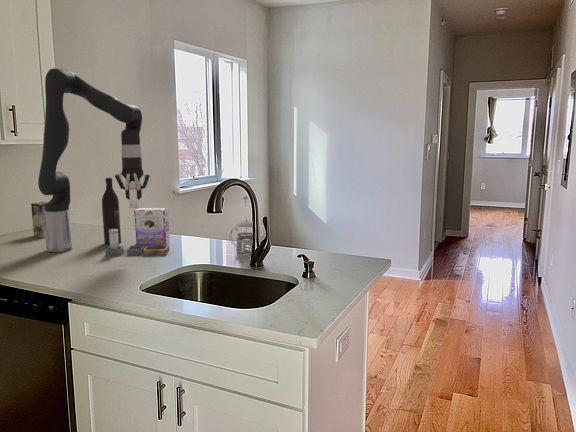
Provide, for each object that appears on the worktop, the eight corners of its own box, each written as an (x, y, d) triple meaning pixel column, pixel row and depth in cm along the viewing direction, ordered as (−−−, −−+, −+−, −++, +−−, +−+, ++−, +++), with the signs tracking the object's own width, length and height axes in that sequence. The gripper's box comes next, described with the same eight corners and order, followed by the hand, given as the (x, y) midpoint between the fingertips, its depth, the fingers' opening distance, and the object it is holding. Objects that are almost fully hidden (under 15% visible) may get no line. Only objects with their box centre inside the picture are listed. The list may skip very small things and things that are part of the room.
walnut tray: (143, 257, 199) (142, 250, 199) (147, 252, 208) (146, 245, 208) (166, 257, 200) (166, 249, 199) (169, 251, 209) (169, 244, 208)
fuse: (109, 255, 200) (107, 230, 199) (111, 252, 204) (109, 229, 202) (118, 254, 201) (116, 230, 199) (120, 252, 204) (119, 228, 202)
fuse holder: (104, 258, 198) (104, 250, 197) (110, 253, 206) (109, 245, 206) (141, 257, 199) (141, 249, 199) (145, 252, 208) (145, 244, 207)
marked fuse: (128, 208, 198) (127, 183, 196) (130, 206, 201) (129, 182, 200) (138, 208, 198) (136, 183, 197) (139, 206, 202) (138, 182, 200)
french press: (255, 261, 192) (254, 198, 188) (226, 260, 195) (225, 197, 190) (261, 255, 202) (260, 194, 198) (234, 254, 204) (233, 194, 200)
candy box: (170, 243, 224) (168, 207, 222) (165, 246, 219) (164, 209, 216) (140, 243, 226) (139, 207, 223) (135, 245, 220) (133, 209, 217)
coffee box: (33, 235, 242) (30, 203, 239) (45, 233, 247) (42, 201, 244) (44, 237, 237) (41, 204, 234) (56, 235, 242) (53, 203, 240)
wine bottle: (117, 246, 219) (113, 178, 214) (102, 246, 219) (97, 178, 214) (123, 242, 226) (119, 177, 221) (108, 242, 226) (103, 177, 221)
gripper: (110, 156, 192) (113, 200, 195) (148, 156, 193) (150, 200, 196) (115, 155, 199) (118, 198, 202) (151, 155, 201) (153, 197, 204)
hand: (134, 199), depth 199 cm, fingers closed on marked fuse, 3 cm apart
